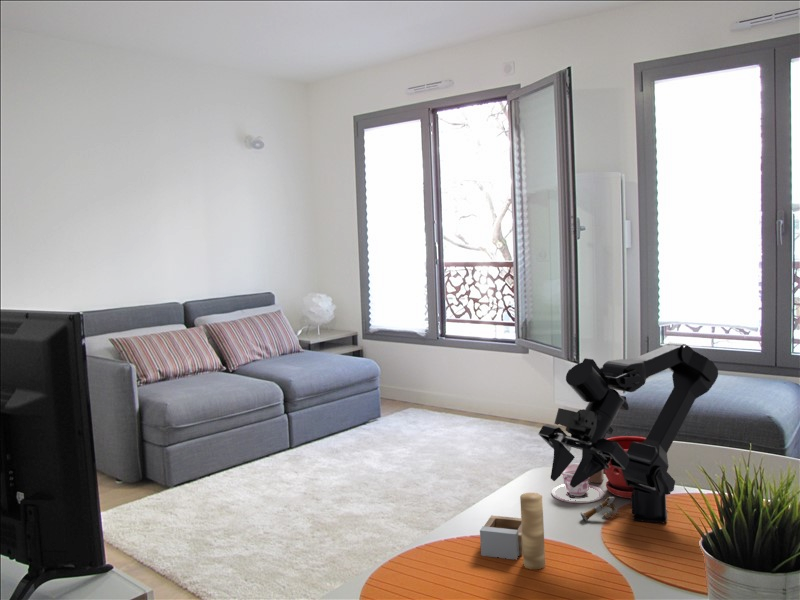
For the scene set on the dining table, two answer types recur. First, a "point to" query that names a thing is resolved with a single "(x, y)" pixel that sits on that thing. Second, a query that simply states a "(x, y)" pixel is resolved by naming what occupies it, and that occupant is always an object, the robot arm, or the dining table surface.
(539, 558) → the dowel
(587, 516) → the brown and silver rod
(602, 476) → the wooden block
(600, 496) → the teacup
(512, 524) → the socket block
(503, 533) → the wall
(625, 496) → the plant pot
